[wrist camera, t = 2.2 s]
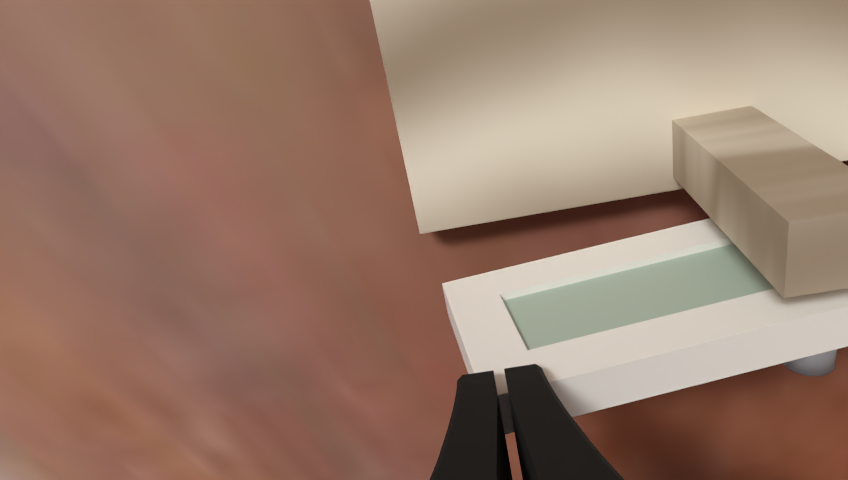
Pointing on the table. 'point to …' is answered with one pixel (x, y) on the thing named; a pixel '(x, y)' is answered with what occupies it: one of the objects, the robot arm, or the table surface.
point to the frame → (640, 319)
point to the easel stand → (631, 115)
